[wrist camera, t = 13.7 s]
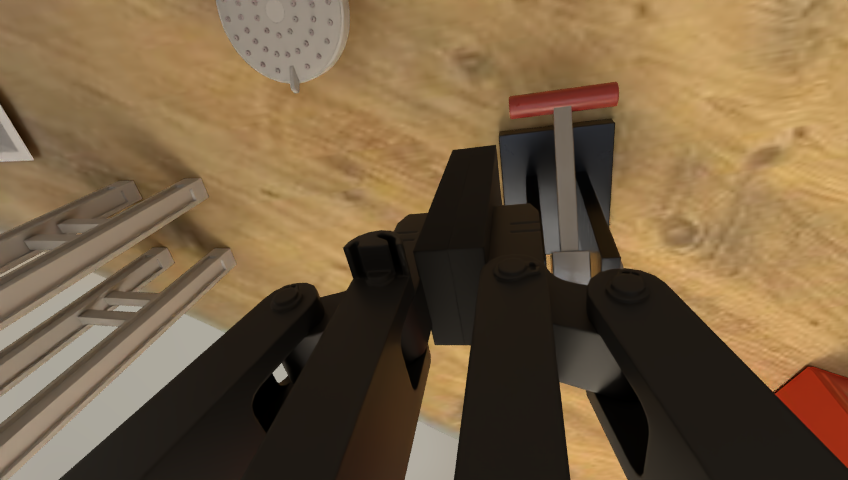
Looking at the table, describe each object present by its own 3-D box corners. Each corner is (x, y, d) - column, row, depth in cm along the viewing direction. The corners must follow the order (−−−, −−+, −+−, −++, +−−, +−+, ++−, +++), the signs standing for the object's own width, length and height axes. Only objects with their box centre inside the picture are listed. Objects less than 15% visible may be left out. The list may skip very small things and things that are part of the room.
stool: (94, 164, 46) (-674, 463, 16) (210, 158, 42) (-503, 528, 13) (154, 275, 53) (-294, 615, 24) (256, 278, 50) (-121, 681, 20)
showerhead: (238, 100, 30) (181, -62, 25) (285, 83, 36) (246, -51, 31) (354, 87, 28) (315, -95, 23) (383, 71, 34) (358, -76, 29)
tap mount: (499, 131, 35) (488, 205, 22) (611, 118, 32) (670, 192, 20) (508, 248, 40) (504, 359, 28) (605, 244, 38) (646, 363, 26)
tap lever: (510, 103, 28) (508, 90, 25) (612, 89, 26) (620, 74, 24) (519, 292, 27) (518, 298, 25) (622, 291, 26) (631, 296, 23)
